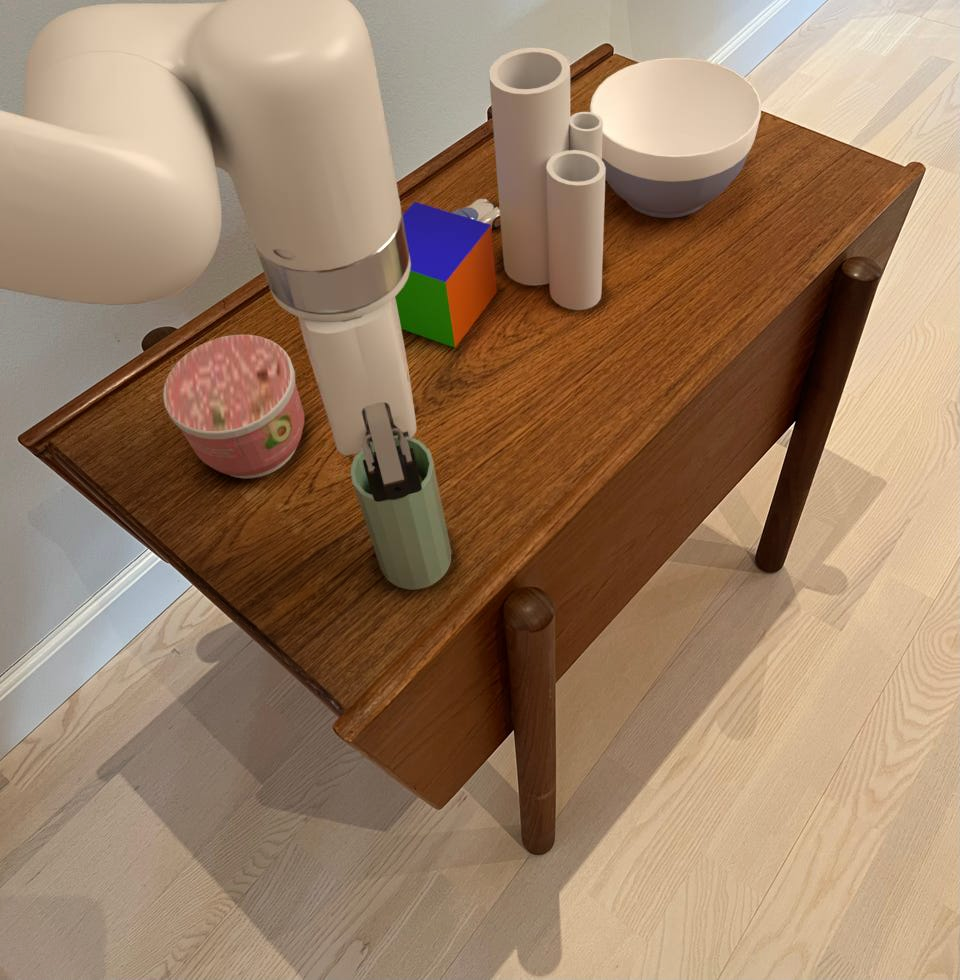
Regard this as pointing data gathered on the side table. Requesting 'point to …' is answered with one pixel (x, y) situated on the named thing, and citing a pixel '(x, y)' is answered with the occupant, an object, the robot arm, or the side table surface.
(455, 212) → the toy car
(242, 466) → the container
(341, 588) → the side table surface
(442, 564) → the tube
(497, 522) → the side table surface
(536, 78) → the vase
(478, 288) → the cube
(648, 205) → the bowl
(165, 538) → the side table surface
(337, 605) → the side table surface
